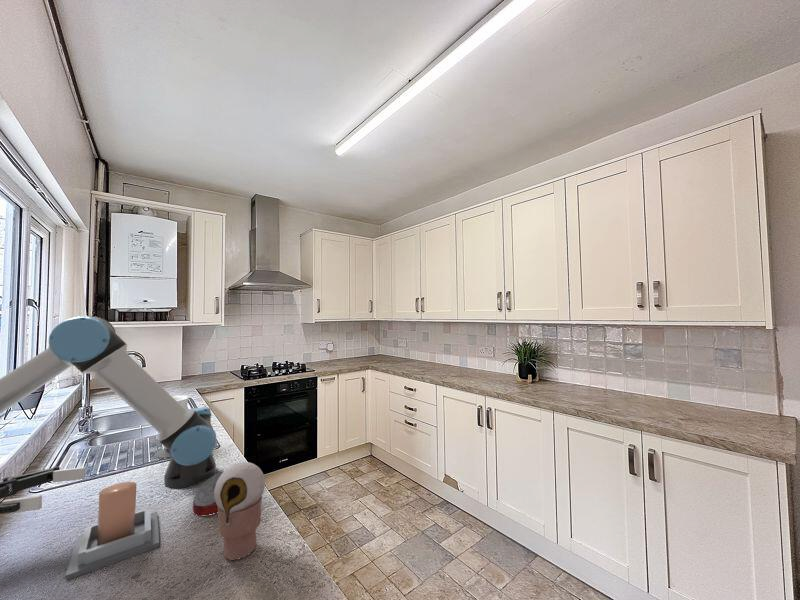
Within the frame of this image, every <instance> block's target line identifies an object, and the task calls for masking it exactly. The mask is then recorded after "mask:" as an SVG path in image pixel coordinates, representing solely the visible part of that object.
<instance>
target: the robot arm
mask: <svg viewBox="0 0 800 600" xmlns="http://www.w3.org/2000/svg"><path fill="white" fill-rule="evenodd" d="M127 350H128V344H127V343H126V342H125V340H123V339H122V338H121V337H120V336H119V335H118V334H117V333H116V329H115V327H114V326H113V324H112V323H111V322H110V321H108V320H107V319H105V318H103V317H99V316H89V315H78V316H73V317H70V318H68V319H65V320H63V321H61V322H60V323H58V324H57V325H55V326H54V328H53V329H52V330H51V332H50V334H49V336H48V347H47V349H45V350H43V351H41V352H40V353H38V354H37V355H35V356H34V357H32V358H30V359H29V360H27V361H25V362H24V363H22V364H21V365H20V366H18V367H16V368H15V369H13V370H12V371H10V372H8V373H7V374H5V375H4V376H2V377H1V378H0V415H2V414H3V413H5V412H7V410H9V409H11V408H12V407H14V406H15V405H16V404H18V403H19V402H21V401H22V400H24V399H25V398H27V397H28V396H29V395H31V394H33V393H34V392H36V391H37V390H39V389H40V388H41V387H43V386H44V385H46V384H47V383H48V382H51V380H53V379H55V378H56V377H57V376H59V375H60V374H62V373H64V372H65V371H66V370H68V369H69V368H71V367H73V366H74V367H75V368H76V369H77V370H78V371H79V372H80V373H81V374H91V375H95V376H96V377H97V379H99V380H100V381H101V382H102V383H104V384H105V385H106V386H107V387H108V388H109V389H110V390H111V391H112V392H113V393H114V394H115V395H116V396H118V397H119V398H120V399H121V400H122V401H124V403H125V404H127V405H128V406H129V407H130V408H131V409H132V410H134V412H136V413H137V414H138V415H139V416H140V417H141V418H142V419H143V420H145V422H147V423H148V424H149V425H150V426H151V427H152V428H153V429H154V430H155V431H157V432H158V435H157V441H158V442H159V443H160V444H161V445H162V446H163V447H164V446H165V447H166V448H167V449H168V450H169V451H170V452H171V457H170V460H169V463H168V466H167V467H166V470H165V473H164V477H163V478H164V479H163V483H164V485H165V487H168V488H173V489H174V488H175V489H177V488H180V489H181V488H186V487H190V486H195V485H197V484H200V482H201V483H204V482H206V481H207V480H208V479H209V478H210V477H211V476H214V475H215V474H216V473H215V472H217V464H216V461H215V458H214V456H213V452H214V450H215V448H216V446H217V445H216V444H217V433H216V432H215V431H216V430H214V428H213V427H214V426H213V425H212V420H211V419H212V412H211V411H212V410H211V408H209V407H194V408H187V410H186V409H184V408H183V407H182V406H181V405H180V404H179V403H178V402H177V401H176V400H175V399H174V398H173V397H172V395H171V394H170V393H169V392H168V391H167V390H166V389H165V388H163V386H162V385H161V384H159V382H158V381H157V380H155V379H154V378H153V377H152V376H151V375H150V374H149V373H148V372H147V371H146V370H145V369H144V368H143V367H142V366H141V365H140V364H139V363H138V362H137V361H136V360H135V359H133V358H132V356H130V355H129V353H127ZM60 468H61V467H60V465H59V466H58V465H57V466H56V465H55V466H53V467H51V468H49V467H48V468H45V469H41V470H37V471H33V472H28V473H25V474H24V473H23V474H19V475H14V476H6V477H3V478H2V482H0V500H1V499H4V498H6V499H4V500H3V501H1V504H0V515H8V514H16V513H22V512H23V513H24V512H31V511H37V510H41V509H42V507H43V495H42V494H40V495H33V496H25V497H17V498H10V499H9V498H8V497H11V496H14V495H16V494H17V493H18V492H20V491H24V490H27V489H32V488H34V487H37V486H41V485H44V484H48V483H51V482H52V483H53V484H54V483H61V482H69V481H76V480H77V481H78V480H83V479H85V478H86V466H84V467H83V466H81V467H73V468H65V469H60ZM10 490H11V491H10ZM7 498H8V499H7Z"/></svg>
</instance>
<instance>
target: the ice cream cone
mask: <svg viewBox="0 0 800 600" xmlns="http://www.w3.org/2000/svg"><path fill="white" fill-rule="evenodd" d="M222 472H223V473H222V474H221V476H220V477H219V479H218V481H217V483H216V486H215V490H214V498H215V502H216V504H217V506H218V513H217V515H218V533H219V535H220V536H221V537H223V556H224V558H225V557H226V558H227V559H230V560H229V561H231V560H234V561H236V560H235V559H239V558H242V557H244V556H247V555H248V554H249V553H251V552H252V551H253V550H254V548H255V549H256V547H257V532H256V531H257V528H258V527H259V526H260V524H261V520H262V500H263V497H262V496H263V493H264V491H265V487H266V486H265V485H266V480H265V479H266V478H265V475H264V473H263V472H264V471H262V469H261V468H260V467H259V466H258V465H256V464H255V463H254V462H253V463H252V462H249V461H248V462H247V461H243V462H241V461H240V462H236V463H235V464H232V465H231V466H229V467H227V468H226V469H225V470H223V471H222ZM255 546H256V547H255ZM254 551H255V550H254ZM254 551H253V552H254ZM253 552H252V553H253ZM252 553H251V554H252ZM248 556H249V555H248ZM248 556H247V557H248ZM226 558H225V559H226ZM227 559H226V560H227ZM242 559H243V558H242Z"/></svg>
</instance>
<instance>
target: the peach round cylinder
mask: <svg viewBox="0 0 800 600" xmlns="http://www.w3.org/2000/svg"><path fill="white" fill-rule="evenodd" d="M136 501H137V482H135V481H123V482H119V483H115V484H113V485H110V486H108V487H105V488H103V489H102V490H100V492H99V495H98V511H97V512H98V516H97V523H98V531H97V546H100V545H103V544H106V543H109V542H112V541H115V540H118V539H121V538H124V537H127V536H130V535H133V534H134V531H135V512H136V507H137V506H136V504H137V503H136Z"/></svg>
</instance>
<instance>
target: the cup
mask: <svg viewBox="0 0 800 600" xmlns="http://www.w3.org/2000/svg"><path fill="white" fill-rule="evenodd" d="M171 396H172V395H171ZM172 397H173V398H174V399H175V400H176V401H177V402H178V403H179V404H180V405H181V406H182V407H183V408H184V409H186V410H187V409H188V402H189V396H187V395H173V396H172ZM163 447H164V448H163V449H161V450H158V451H157V452H156V453H154V454H153V457H154V458H156V459H167V458H168V459H169V458H171V452H170V451H169V450H168V449H167V448H166V447H165V446H164V445H163Z"/></svg>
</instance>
